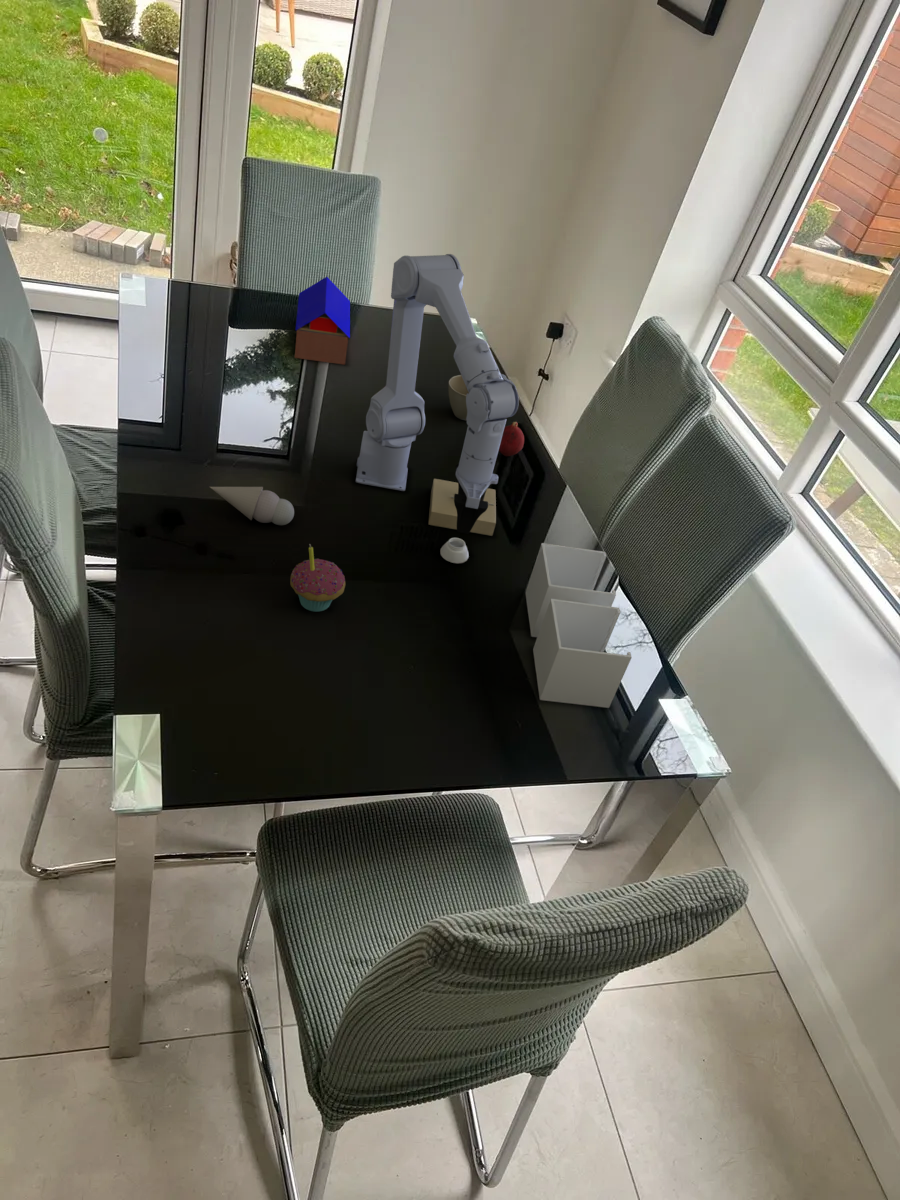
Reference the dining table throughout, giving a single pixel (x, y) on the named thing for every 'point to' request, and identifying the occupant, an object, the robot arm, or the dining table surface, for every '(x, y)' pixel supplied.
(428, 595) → the dining table surface
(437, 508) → the panel
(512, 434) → the onion
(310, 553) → the cupcake
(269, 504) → the ice cream cone
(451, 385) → the flower pot
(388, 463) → the robot arm
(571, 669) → the storage container
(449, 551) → the white jar
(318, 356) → the house
